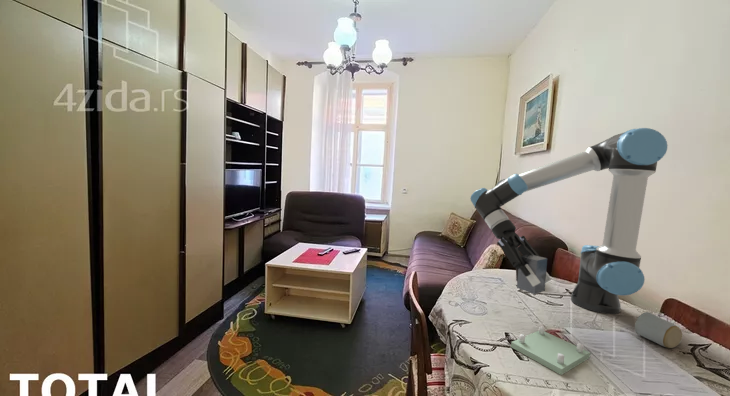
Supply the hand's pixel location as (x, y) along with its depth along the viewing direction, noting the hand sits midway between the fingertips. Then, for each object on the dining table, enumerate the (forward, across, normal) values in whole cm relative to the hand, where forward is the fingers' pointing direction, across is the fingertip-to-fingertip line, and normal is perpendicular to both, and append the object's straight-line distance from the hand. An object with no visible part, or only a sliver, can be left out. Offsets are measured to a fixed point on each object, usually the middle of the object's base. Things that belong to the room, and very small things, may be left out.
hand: (542, 282), depth 97 cm
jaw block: (0, 0, -5) cm, 5 cm away
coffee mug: (-8, -37, -28) cm, 47 cm away
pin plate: (+17, +14, -2) cm, 22 cm away
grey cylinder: (+27, -24, +6) cm, 36 cm away
